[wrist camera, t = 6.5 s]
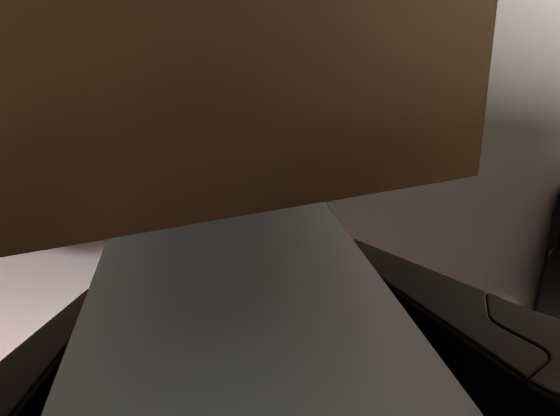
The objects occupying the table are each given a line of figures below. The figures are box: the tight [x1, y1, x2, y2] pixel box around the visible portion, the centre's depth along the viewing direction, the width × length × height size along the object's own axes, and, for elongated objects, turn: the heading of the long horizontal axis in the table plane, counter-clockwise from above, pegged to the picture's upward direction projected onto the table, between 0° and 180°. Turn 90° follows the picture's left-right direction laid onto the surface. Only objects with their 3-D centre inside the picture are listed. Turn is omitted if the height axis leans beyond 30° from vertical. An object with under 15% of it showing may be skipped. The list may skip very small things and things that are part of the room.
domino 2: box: [41, 202, 484, 416], centre depth 7 cm, size 5×2×8 cm, turn 96°
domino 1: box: [0, 0, 497, 257], centre depth 7 cm, size 5×2×8 cm, turn 96°
